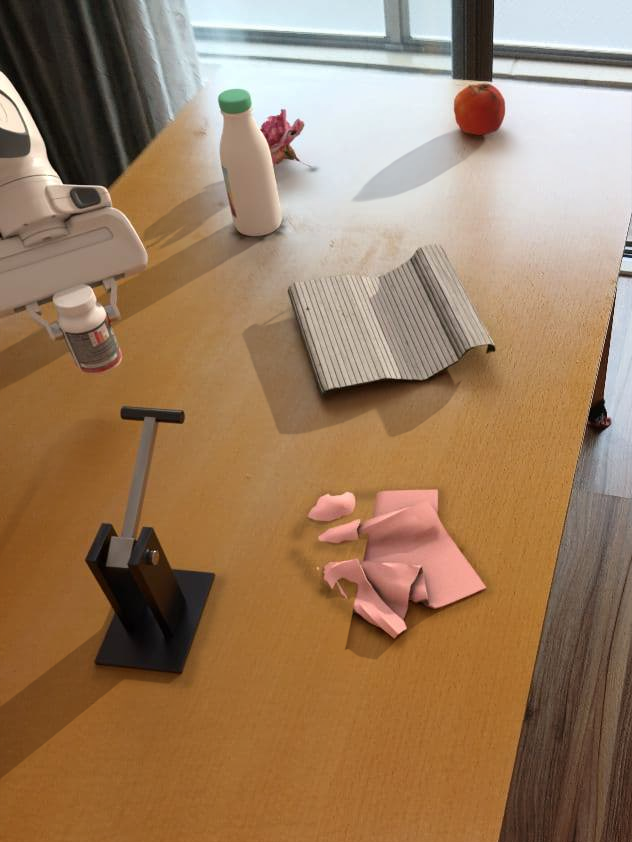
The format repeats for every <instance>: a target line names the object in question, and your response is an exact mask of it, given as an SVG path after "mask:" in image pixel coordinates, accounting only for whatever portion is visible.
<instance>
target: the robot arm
mask: <svg viewBox="0 0 632 842" xmlns="http://www.w3.org/2000/svg"><path fill="white" fill-rule="evenodd" d="M148 263H149V255H148V252H147V250H146V248H145V246H144V244H143V242H142V240H141V238H140V237H139V235H138V233H137V231H136V229H135V227H134V226H133V225H132V223H131V221H130V220H129V219H128V217H127V216H126V215H125V213H124V212H122V211H121V210H119V209H117V208H115V207H113V200H112V198H111V195H110V192H109V191H108V189H107V188H106V187H105V186H102V185H83V184H82V185H81V184H79V185H78V184H64V183H63V182H62V180H61V177H60V176H59V175H58V173H57V171H55V169H54V168H53V166H52V165H51V163H50V161H49V158H48V154H47V148H46V144H45V141H44V139H43V137H42V135H41V133H40V131H39V129H38V127H37V125H36V123H35V120H34V119H33V117H32V114H31V112H30V111H29V109H28V107H27V106H26V104H25V102H24V101H23V99H22V97H21V96H20V94H19V93H18V91H17V90H16V88H15V87H14V85H13V83H12V82H11V81H10V80H9V78H8V77H7V76H6V75H5V74H4V73H3V72H2V71H1V70H0V320H1V319H3V318H6V317H10V316H13V315H15V314H18V313H19V314H20V313H22V312H25V311H26V312H27V313H28V316H29V317H30V320H32V321H33V322H34V323H36V324H37V325H38V326H39V327H41V328H43V329H44V330H46V332H47V334H48V336H49V338H50V340H51V342H52V343H56V342H58V341H62V340H65V339H64V335H63V333H62V331H61V330H60V327H59V325H58V322H57V321H56V322H53V323H50V322H49V321H47V320H46V319H45V318H44V317H42V314H43V313H42V311H41V308H40V306H44V305H47V304H50V303H53V296H54V294H55V293H57V292H60V291H63V290H66V289H69V288H72V287H75V286H78V285H81V284H85V285H88V286H90V287H91V288H92V289H95V288H98V287H101V286H102V287H103V289H104V291H105V293H106V294H109V293H110V298H109V304H106V305H104V306H103V307H104V309H105V311H106V314H107V317H108V319H109V322H110V324H112V323H114V322H118V321H120V320H122V315H121V313H120V311H119V309H118V308H119V307H118V306H117V298H118V288H119V287H118V284H117V281H121V280H123V279H127V278H129V277H132V276H136V275H138V274H142V273H144V272H145V271H146V269H147V266H148Z"/></svg>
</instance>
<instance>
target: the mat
mask: <svg viewBox="0 0 632 842" xmlns="http://www.w3.org/2000/svg"><path fill="white" fill-rule="evenodd" d="M287 294H288V297H289V300H290V304H291V307H292V310H293V312H294V316H295V319H296V323H297V325H298V329H299V332H300V335H301V338H302V342H303V345H304V348H305V351H306V354H307V357H308V360H309V364H310V366H311V369H312V373H313V377H314V379H315V384H316V386H317V389H318V391H319V395H320V397H321V398H323V397H324V396H326V393H329V392H334V391H337V390H342V389H347V388H354V387H356V386H361V385H368V384H372V383H377V382H384V381H400V380H401V381H413V382H414V381H415V382H419V381H426V380H428V379H430V378H433V377H435V376H436V375H438V374H440V373H442V372H443V371H445V370H447V369H449V368H450V367H452V366H454V365H456V364H457V363H458V362H459V361H460V360H461V359H462V358H463V357H464V356H465V355H466V354H467V353H468V352H469V351H470V350H473V349H475V348H477V347H482V346H487V348H486V351H485V355H488V354H490V353H494V352H496V351H497V349H496V345H495V343H494V341H493V339H492V338H491V336H490V334H489V332H488V329H487V328H486V326H485V324H484V323H483V320H482V319H481V317H480V314H479V312H478V311H477V309H476V308H475V306H474V303H473V302H472V300H471V297H470V296H469V294H468V292H467V290H466V289H465V287H464V284H463V283H462V281H461V279H460V277H459V276H458V273H457V272H456V270H455V267H454V266H453V264H452V261H451V260H450V258H449V256H448V254H447V252H446V250H445V248H444V246H443V245H441V244H437V243H435V244H427V245H424V246H420V247H418V248H417V249H416V250H415V251H414V253H413V255H412V256H411V257H410V258H409V259H408V260H407V261H406V262H404V263H402V264H400V265H399V266H398V267H396V268H394V269H391V270H389V271H388V272H387V273H385V274H383V275H381V276H378V277H374V276H373V277H372V276H363V275H353V274H340V275H333V276H328V277H321V278H315V279H308V280H303V281H298V282H293V283H292V284H290V285H289V286H288V288H287Z"/></svg>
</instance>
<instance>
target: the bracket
mask: <svg viewBox="0 0 632 842" xmlns="http://www.w3.org/2000/svg"><path fill="white" fill-rule="evenodd" d="M111 537H119V535H118V533H117V531H116V530H115V527H114V526H113V524H112V523H107V522H101V524H100V526H99V528H98V531H97V532H96V535H95V537H94V539H93V542H92V543H91V546H90V548H89V549H88V553H87V554H86V557H85V559H84V561H85V563H86V565H87V567H88V569H89V570H90V572H91V573H92V575H93V577H94V579H95V580H96V582H97V584H98V586H99V588H100V589H101V591H102V592H103V594H104V596H105V598H106V599H107V601H108V603H109V605H110V606H111V608H112V609H113V611H114V613H113V615H112V618H111V621H110V623H109V626H108V627H107V630H106V632H105V635H104V638H103V640H102V643H101V645H100V647H99V649H98V651H97V654H96V656H95V659H94V661H93V663H94V665H95V666H104V667H113V668H114V667H115V668H122V669H123V668H124V669H133V670H142V671H152V672H159V673H169V674H179V675H182V674H183V672H184V669H185V667H186V663H187V660H188V657H189V654H190V651H191V648H192V645H193V643H194V639H195V636H196V633H197V630H198V627H199V625H200V621H201V620H202V619H201V618H202V616H203V613H204V610H205V607H206V604H207V601H208V598H209V595H210V592H211V589H212V586H213V582H214V580H215V577H216V573H215V572H210V571H209V572H207V571H198V570H190V569H189V570H187V569H177V568H172V567H171V564H170V562H169V560H168V557H167V556H166V553H165V551H164V549H163V547H162V544H161V543H160V540H159V538H158V535H157V533H156V530H155V528H154V527H153V526H142V528H141V531H140V533H139V535H138V536H137V539H136V540H137V542H136V544H135V547H134V549H133V551H132V554H131V556H130V558H129V561H128V563H127V565H128V567H129V569H130V571H131V573H128V572H118V571H115V570H113V569H111V568H109V567H107V566H106V561H107V557H108V552H109V547H110V542H111Z"/></svg>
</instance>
